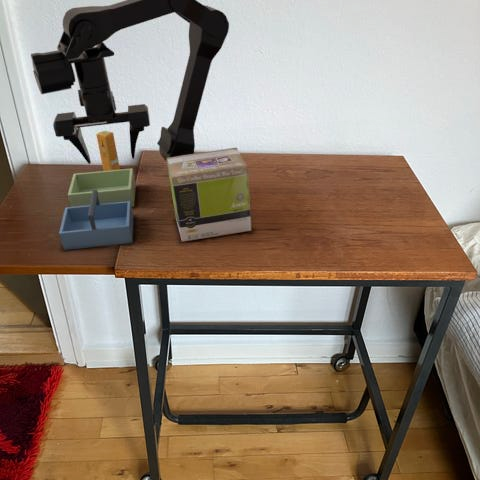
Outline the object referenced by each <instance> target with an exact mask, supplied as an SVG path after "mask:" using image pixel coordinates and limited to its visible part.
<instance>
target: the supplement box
mask: <svg viewBox="0 0 480 480" xmlns="http://www.w3.org/2000/svg"><path fill="white" fill-rule="evenodd" d="M96 140H97V144H98V151H99V155H100V160H101V165H102V171H110V170H121V167H120V162H119V157H118V151H117V147H116V146H117V145H116V140H115V135H114V132H113V131H107V130H102V131H99V132H98V133H96Z"/></svg>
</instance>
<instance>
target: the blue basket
mask: <svg viewBox="0 0 480 480" xmlns="http://www.w3.org/2000/svg"><path fill="white" fill-rule="evenodd" d="M59 227H60V228H59V231H58V235H59V238H60V243H61V246H62V249H63V251H69V250H79V249H87V248H88V249H89V248H97V247H98V248H99V247H107V246H115V245H125V244H133V239H134V237H133V236H134V212H133V207H131V202H130V201H124V202H115V203H105V204H100V203H99V198H98V191H97V190H93V191H92V196H91V202H90V205H85V206H75V207H71V206H67V207H65V208H64V211H63V215H62V220H61V223H60V226H59Z"/></svg>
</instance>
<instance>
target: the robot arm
mask: <svg viewBox="0 0 480 480" xmlns="http://www.w3.org/2000/svg"><path fill="white" fill-rule="evenodd" d="M171 14H176V15H177V16H179V17H180V18H181V19H182V20H183V21H185V22H187V23H188V24H189V27H188V42H189V43H188V44H189V55H188V59H187V63H186V64H187V65H186V66H185V71H184V75H183V79H182V83H181V87H180V92H179V96H178V99H177V103H176V108H175V112H174V115H173V119H172V121H171V123H170V125H169V126H168V127H164V126H161V128H160V137H159V139H158V141H157V143H156V144H157V146H158V151H159V154H160V156H161V157H162V158H163V159H164V160H165V162H167V158H168V157H176V156H182V155H189V154H195V147H196V143H195V131H194V129H195V125H196V121H197V117H198V114H199V110H200V106H201V103H202V99H203V95H204V92H205V89H206V85H207V80H208V77H209V72H210V69H211V65H212V61H213V60H214V58H215V57H216V56H217V55H218V53H219V52H220V51H221V50H222V47H223V45H224V43H225V41H226V38H227V36H228V34H229V30H230V21H229V20H228V17H227V15H226V14H225V13H224V12H222V10H220V9H216V8H214V7H211V6H209V5H204V4H203V3H202V2H199V1H198V0H123V1H120V2H116V3H113V4H109V5H98V6H97V5H89V6H79V7H72V8H70V9H68V10H67V11H66V12H65V13H64V16H63V18H62V28H63V31H62V34H61V36H60V39H59V42H58V44H57V46H56V49H57V50H52V51H46V52H34V53H31V54H30V58H31V61H32V62H31V63H32V67H33V68H32V69H33V70H32V72H33V75H34V78H35V82H36V85H37V88H38V90H39V93H40V94H41V95H46V94H52V93H56V92H61V91H62V92H63V91H67V90H71V89H72V86H75V83H76V78H77V82H78V86H79V89H77V94H78V100H79V105H80V107H84V111H85V114H86V116H78V117H77V114H76V112H75V111H71V112H60V113H57V114H56V115H55V118H54V119H53V120H54V121H53V124H52V126H53V131H54V134H55V137H57V138H59V137H60V138H61V137H62V139H63V140H64V141H69V142H70V143H71V144H72V145H73V146H74V147H75V148H76V149H77V150H78V152H79V153H80V154H81V156H82V157H83V158H84V160H85V161H86V163H87V164H88V165H90V164H91V156H90V153H89V150H88V147H87V144H86V142H85V140H84V135H83V133H82V128H85V127H86V128H87V127H95V126H104V125H111V124H112V125H113V124H120V123H121V124H122V123H129V144H130V156H131V159H132V160H134V159H135V156H136V154H135V153H136V146H137V142H138V138H139V134H140V133H141V132H145V128H147V127H150V126H151V122H150V111H149V107H148V106H147V104H145V103H142V104H141V103H140V104H135V105H134V104H133V105H128V106H127V111H121V112H117V106H116V100H115V97H114V94H113V91H112V90H111V89H112V88H111V85H110V80H109V75H108V71H107V66H106V61H105V58H111V57H113V56H114V55H115V51H113V50H112V49H111V48H109V47H108V46H107V45H106V44H105V41H107V40H108V39H109V38H111V37H112V36H113V35H114V34H115V33H117V32H119V31H121V30H124V29H127V28H131V27H133V26H137V25H139V24H142V23H146V22H149V21H151V20H155V19H158V18H161V17H164V16H168V15H171ZM72 64H73V65H72ZM73 66H74V68H73ZM74 70H75V71H74ZM75 74H76V75H75Z"/></svg>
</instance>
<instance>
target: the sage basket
mask: <svg viewBox="0 0 480 480" xmlns="http://www.w3.org/2000/svg"><path fill="white" fill-rule="evenodd" d="M136 187H137V185H136V179H135V173H134V168H123V169H121V168H120V170H110V171H103V170H99V171H90V172H79V173H73V174H72V178H71V181H70V186H69V189H68V193H67V197H68V200H69V205H70V207H75V206H85V205H90V202H91V196H92V191H93V190H97V191H98V198H99V203H100V204H105V203H115V202H124V201H130V202H131V207H132V208H135V202H136V201H135V200H136ZM134 188H135V190H134ZM133 202H134V203H133Z"/></svg>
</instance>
